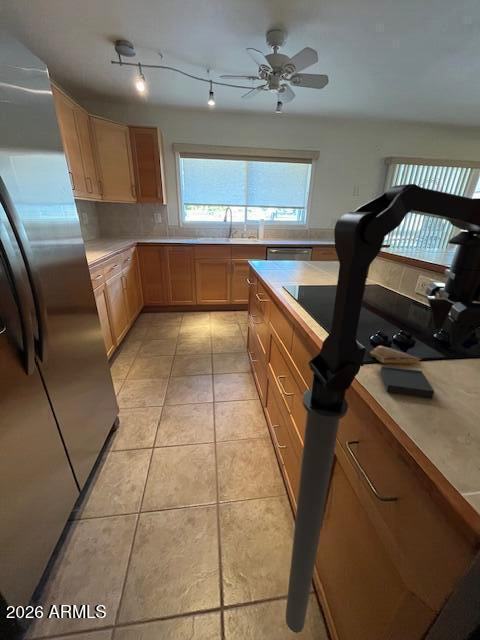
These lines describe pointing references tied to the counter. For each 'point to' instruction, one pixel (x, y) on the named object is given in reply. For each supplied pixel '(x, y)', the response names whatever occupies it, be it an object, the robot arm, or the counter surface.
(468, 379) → the counter surface
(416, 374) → the black pad
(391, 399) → the counter surface
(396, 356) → the sandwich half
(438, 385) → the counter surface
